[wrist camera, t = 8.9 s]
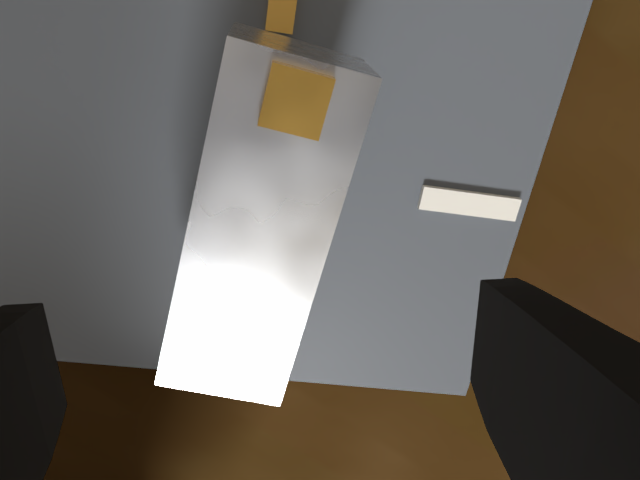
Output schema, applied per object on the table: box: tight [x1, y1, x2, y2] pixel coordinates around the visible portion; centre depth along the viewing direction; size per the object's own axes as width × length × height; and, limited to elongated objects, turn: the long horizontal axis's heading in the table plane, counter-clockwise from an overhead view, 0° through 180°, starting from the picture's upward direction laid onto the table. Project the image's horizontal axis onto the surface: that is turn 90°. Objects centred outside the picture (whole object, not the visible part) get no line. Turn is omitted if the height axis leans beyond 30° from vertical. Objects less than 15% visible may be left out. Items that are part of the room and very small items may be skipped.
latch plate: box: [0, 0, 593, 396], centre depth 18 cm, size 16×14×2 cm
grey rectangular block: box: [154, 22, 382, 406], centre depth 15 cm, size 8×3×5 cm, turn 164°
